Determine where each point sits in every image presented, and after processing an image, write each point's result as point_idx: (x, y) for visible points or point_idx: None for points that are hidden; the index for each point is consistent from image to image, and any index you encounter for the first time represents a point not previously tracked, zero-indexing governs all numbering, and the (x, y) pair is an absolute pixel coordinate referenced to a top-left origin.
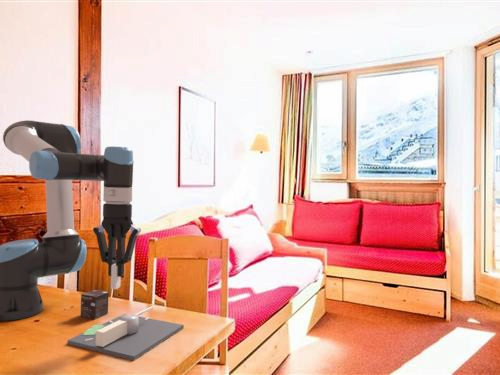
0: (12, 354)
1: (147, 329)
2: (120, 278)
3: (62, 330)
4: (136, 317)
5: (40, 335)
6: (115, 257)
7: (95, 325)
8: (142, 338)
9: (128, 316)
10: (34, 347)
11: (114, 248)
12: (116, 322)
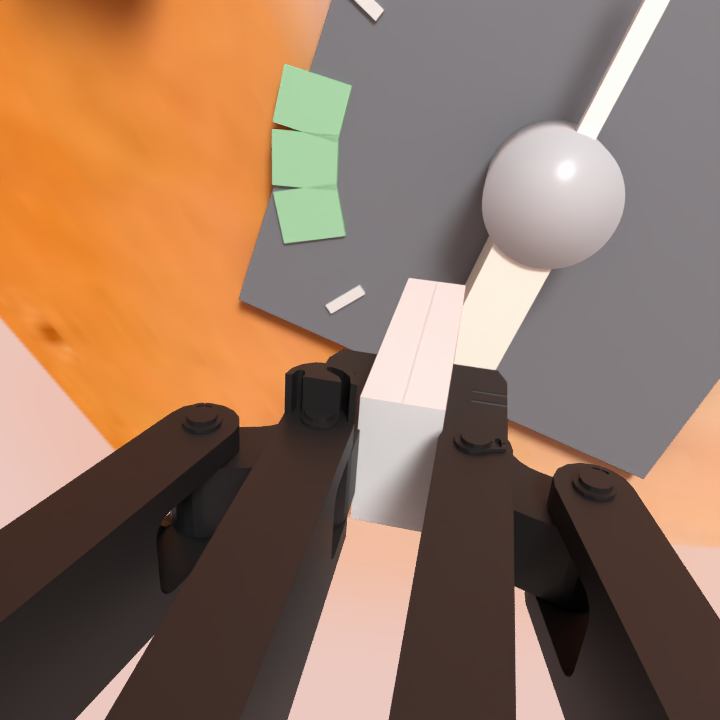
0: (87, 387)
1: (673, 128)
2: (459, 319)
3: (112, 110)
4: (612, 214)
5: (50, 188)
6: (338, 471)
7: (287, 88)
8: (656, 280)
9: (543, 193)
10: (123, 326)
11: (287, 647)
12: (483, 296)
